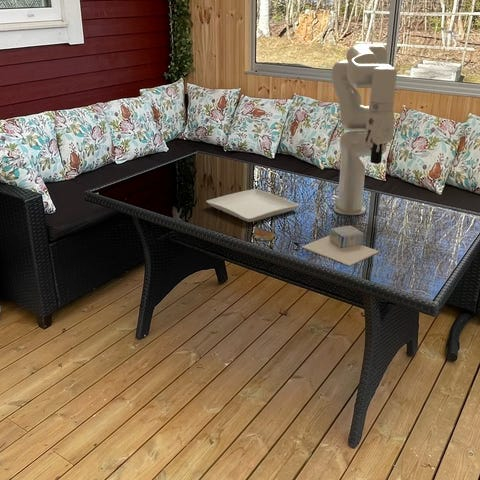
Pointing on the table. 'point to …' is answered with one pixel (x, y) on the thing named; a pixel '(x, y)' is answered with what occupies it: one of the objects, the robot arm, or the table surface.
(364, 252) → the mat
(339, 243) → the medicine box
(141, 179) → the table surface
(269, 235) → the shard
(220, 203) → the square plate
